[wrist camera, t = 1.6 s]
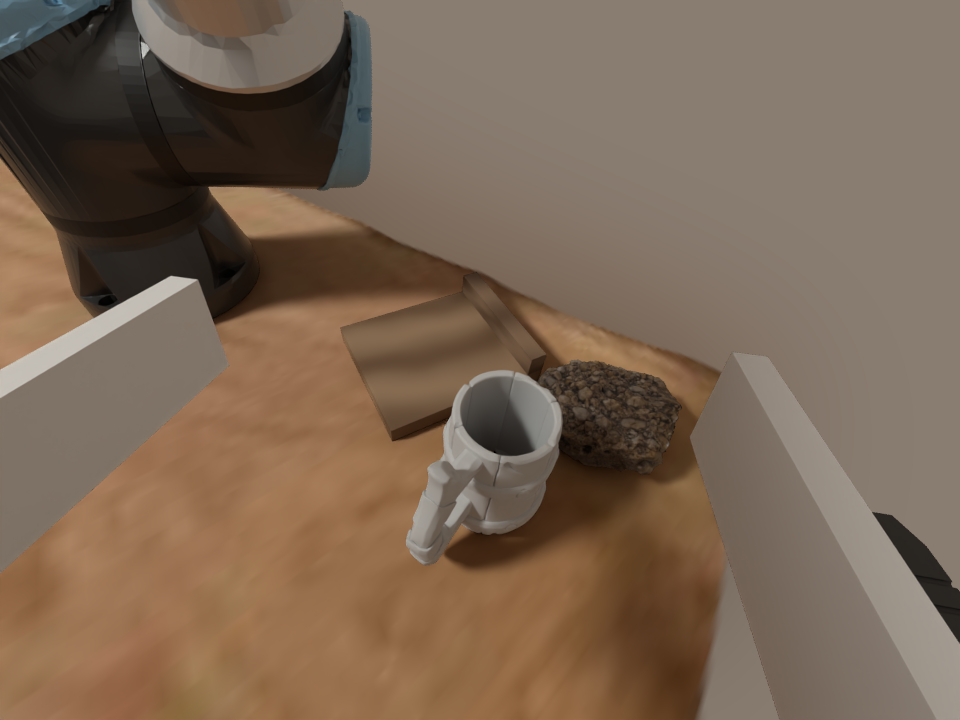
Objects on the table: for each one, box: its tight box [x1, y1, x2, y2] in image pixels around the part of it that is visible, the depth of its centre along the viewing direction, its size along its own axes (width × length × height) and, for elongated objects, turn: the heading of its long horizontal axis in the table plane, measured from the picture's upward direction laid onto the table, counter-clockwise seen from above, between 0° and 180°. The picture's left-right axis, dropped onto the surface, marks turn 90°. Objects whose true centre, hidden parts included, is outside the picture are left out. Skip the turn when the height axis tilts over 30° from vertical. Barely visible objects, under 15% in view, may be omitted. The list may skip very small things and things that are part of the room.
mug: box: [406, 370, 563, 565], centre depth 26 cm, size 8×12×12 cm, turn 143°
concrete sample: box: [538, 360, 682, 474], centre depth 34 cm, size 12×10×5 cm
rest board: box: [340, 272, 546, 441], centre depth 38 cm, size 12×14×4 cm
